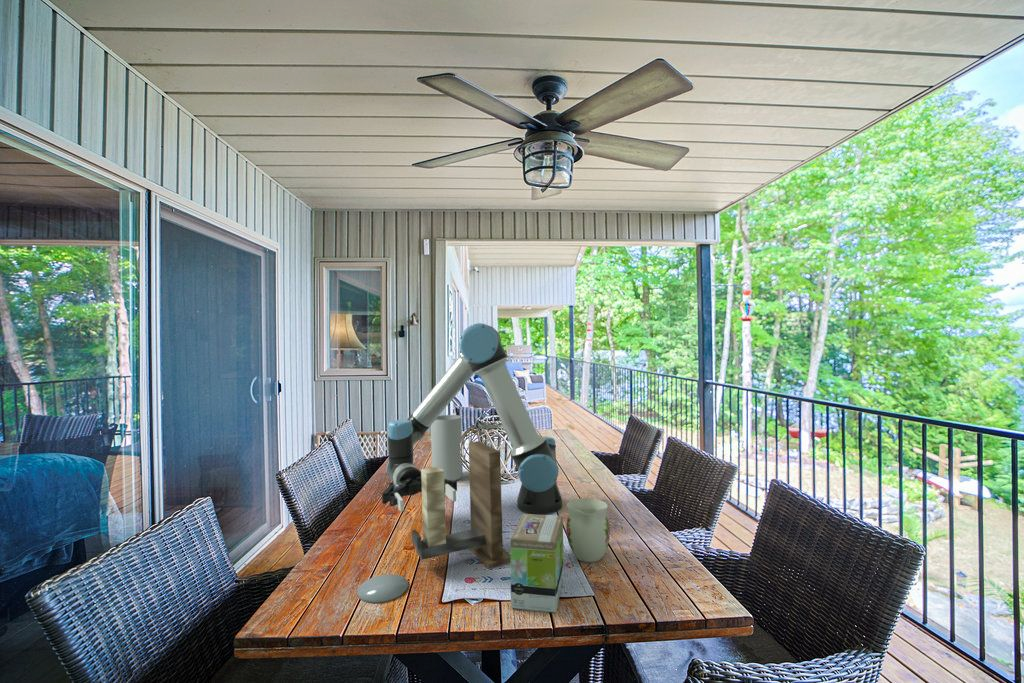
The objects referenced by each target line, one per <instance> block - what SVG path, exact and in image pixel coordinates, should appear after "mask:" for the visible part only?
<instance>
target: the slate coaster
mask: <svg viewBox="0 0 1024 683" xmlns="http://www.w3.org/2000/svg"><path fill="white" fill-rule="evenodd" d="M408 583H409V582H408V580H407V578H406V577H404V576H402V575H399V574H392V573H388V574H381V575H377V576H373V577H370V578H369V579H366V580H365V581H363V582H362V583H361V584H360V585H359V586H358V588H357V597H358V598H359V600H361V601H363V602H366V603H371V604H379V603H385V602H390V601H392V600H396V599H398V598H399V597H401V596H402V595H403V594H405V592H406V591H407V590H408V586H409V584H408Z"/></svg>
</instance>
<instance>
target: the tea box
mask: <svg viewBox="0 0 1024 683" xmlns="http://www.w3.org/2000/svg"><path fill="white" fill-rule="evenodd" d="M510 554H511V563H510V609H517V610H525V611H532V612H533V611H534V612H545V613H556V612H557V609H558V606H559V600H560V595H561V591H562V586H563V580H564V521H563V515H550V514H549V515H548V514H531V513H522V514H521V516H520V518H519V521H518V523H517V525H516V527H515V528H514V531H513V533H512V535H511V537H510Z"/></svg>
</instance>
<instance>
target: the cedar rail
mask: <svg viewBox="0 0 1024 683" xmlns="http://www.w3.org/2000/svg"><path fill="white" fill-rule="evenodd" d="M420 469H421V468H420ZM420 472H421V479H422V492H421V508H422V510H421V512H422V513H421V515H422V516H421V517H422V540H423V541H424V542H425V544H426V545H427V546H428V547H433V546H437V545H441V544H446V535H447V534H446V533H447V532H446V529H447V528H446V497H445V496H446V493H445V489H444V470H442V469H441V468H440V467H433V468H432V467H427V468H422V469H421V470H420Z"/></svg>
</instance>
